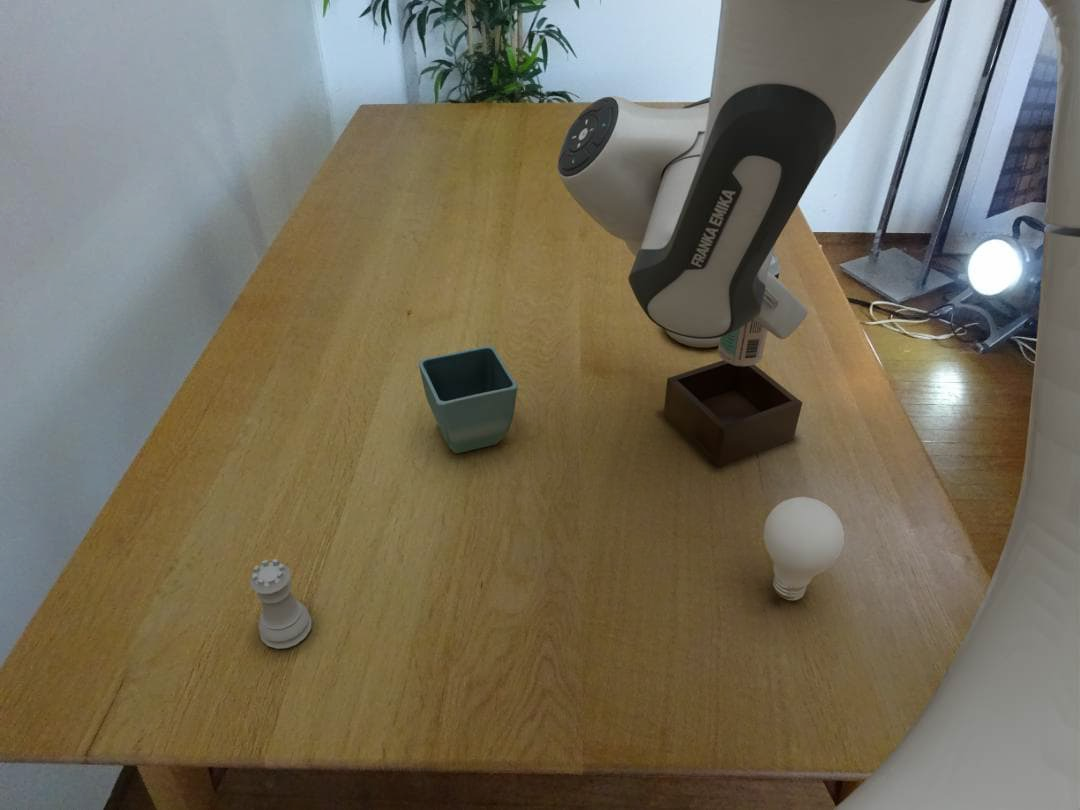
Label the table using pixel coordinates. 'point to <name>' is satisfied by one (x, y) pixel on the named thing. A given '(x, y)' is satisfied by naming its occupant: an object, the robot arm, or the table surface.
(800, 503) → the light bulb
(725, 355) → the beer can
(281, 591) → the rook chess piece
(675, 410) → the holder
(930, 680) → the table surface
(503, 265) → the table surface
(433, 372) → the flower pot
